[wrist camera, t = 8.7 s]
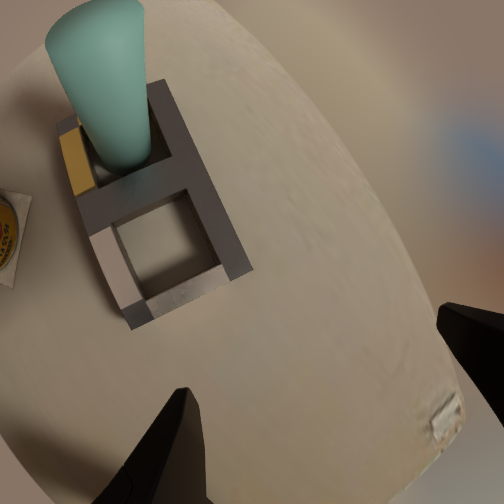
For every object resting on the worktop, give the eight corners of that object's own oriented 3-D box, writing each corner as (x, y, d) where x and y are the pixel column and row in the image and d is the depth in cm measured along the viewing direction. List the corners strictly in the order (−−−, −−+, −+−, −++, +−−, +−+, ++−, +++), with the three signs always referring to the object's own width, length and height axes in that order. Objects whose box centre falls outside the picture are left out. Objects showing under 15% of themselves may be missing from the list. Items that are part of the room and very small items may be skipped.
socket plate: (135, 324, 18) (130, 331, 16) (63, 135, 17) (55, 122, 15) (245, 269, 21) (254, 269, 19) (163, 92, 20) (164, 76, 18)
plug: (122, 185, 19) (69, 74, 6) (92, 152, 18) (32, 35, 5) (162, 150, 20) (164, 17, 7) (131, 119, 19) (113, -13, 6)
